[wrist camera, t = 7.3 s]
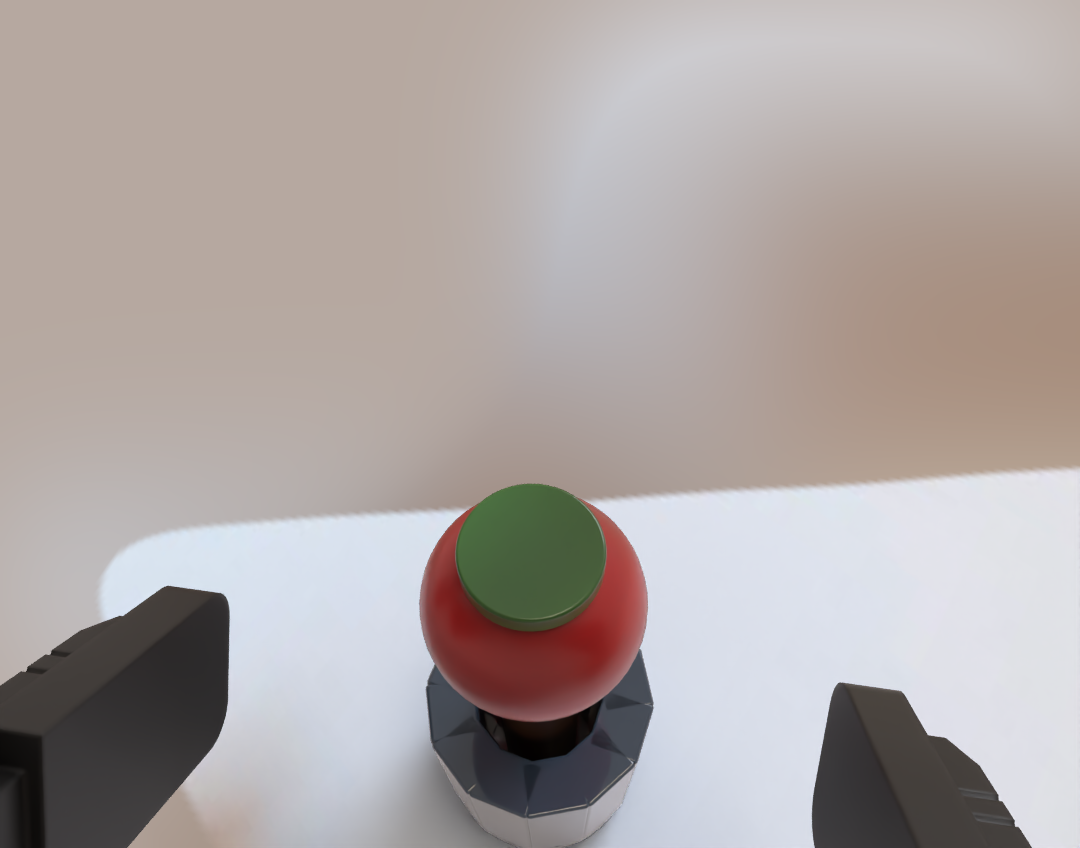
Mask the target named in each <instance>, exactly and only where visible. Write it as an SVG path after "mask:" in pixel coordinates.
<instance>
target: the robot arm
mask: <svg viewBox="0 0 1080 848" xmlns="http://www.w3.org/2000/svg"><path fill="white" fill-rule="evenodd" d="M229 617H230V616H229V605H228V601H227V599H226V597H225V596H224V595H223V594H221V593H215V592H208V591H201V590H194V589H187V588H180V587H173V586H166V587H164V588H162V589H160V590H159V591H157V592H156V593H155V594H153V595H152V596H150V597H149V598H148V599H146V600H145V601H144V602H142V603H141V604H139V605H138V606H137V607H135V608H134V609H132V610H131V611H130V612H128V613H127V614H125V615H124V616H118V617H115V618H113V619H110V620H107V621H105V622H102V623H99V624H97V625H94V626H92V627H89V628H86V629H84V630H81V631H79V632H78V633H76V634H75V635H73V636H72V637H70V638H69V639H68V640H66V641H65V642H63V643H62V644H60V645H59V646H57V647H56V648H54V649H53V650H52V651H51V654H50V655H44V656H43V657H41V658H40V659H38V660H37V661H36V662H34V663H33V664H31V665H30V666H28V667H27V671H26V672H20V673H18V674H17V675H15V676H14V677H13V678H11V679H9V680H8V681H7V682H5V683H4V684H2V685H1V686H0V848H127V847H128V846H129V845H130V844H131V843H132V841H133V840H134V839H135V838H136V837H137V836H138V834H139V833H140V832H141V831H142V830H143V828H144V827H145V826H146V825H147V824H148V823H149V821H150V820H151V819H152V818H153V817H154V816H155V814H156V813H157V812H158V811H159V810H160V808H161V807H162V806H163V805H164V804H165V803H166V802H167V800H168V799H169V798H170V797H171V796H172V795H173V793H174V792H175V791H176V790H177V789H178V788H179V786H180V785H181V784H182V783H183V782H184V780H185V779H186V778H187V777H188V776H189V775H190V773H191V772H192V771H193V770H194V769H195V768H196V766H197V765H198V764H199V763H200V762H201V761H202V759H203V758H204V757H205V756H206V755H207V754H208V752H209V751H210V750H211V749H212V747H213V746H214V744H215V742H216V741H217V739H218V737H219V734H220V732H221V729H222V726H223V723H224V720H225V716H226V711H227V704H228V669H229ZM998 796H999V795H998V794H997V792H996V791H995V789H994V788H993V786H992V785H991V783H990V781H989V780H988V778H987V777H986V775H985V774H984V772H983V770H982V769H981V767H980V766H979V765H978V764H977V763H975V762H974V761H973V760H972V759H971V758H969V757H968V756H967V755H966V754H965V753H963V752H962V751H961V750H960V749H958V748H957V747H956V746H955V745H954V744H952V743H951V742H950V741H949V740H947V739H946V738H942V737H935V736H929V735H927V733H926V731H925V730H924V728H923V726H922V724H921V723H920V721H919V719H918V718H917V716H916V714H915V712H914V711H913V709H912V707H911V705H910V704H909V702H908V700H907V698H906V697H905V695H904V694H903V693H902V692H901V691H897V690H890V689H883V688H876V687H869V686H862V685H855V684H848V683H838V684H837V685H836V687H835V689H834V691H833V694H832V697H831V702H830V707H829V712H828V718H827V723H826V729H825V734H824V740H823V745H822V750H821V756H820V761H819V767H818V772H817V778H816V783H815V788H814V795H813V805H812V831H813V840H814V845H815V848H1032V847H1031V846H1030V844H1029V842H1028V841H1027V839H1026V838H1025V836H1024V835H1023V833H1022V831H1021V830H1020V828H1019V827H1015V824H1014V822H1015V820H1014V819H1013V817H1012V816H1011V814H1010V813H1009V811H1008V810H1007V808H1006V806H1005V805H1004V803H1003V802H1002V801H999V800H998Z"/></svg>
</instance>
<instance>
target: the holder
mask: <svg viewBox="0 0 1080 848" xmlns="http://www.w3.org/2000/svg"><path fill="white" fill-rule="evenodd" d="M427 685H428V686H427V687H426V697H427V708H428V718H429V729H430V739H431V743H432V746H433V749H434V751H435V753H436V755H437V757H438V759H439V761H440V763H441V765H442V767H443V769H444V771H445V773H446V775H447V777H448V779H449V780H450V782H451V784H452V786H453V788H454V790H455V792H456V793H457V795H458V796H459V797H460V799H461V800H462V802H463V803H464V804H465V806H466V807H467V809H468V811H469V812H470V814H471V815H472V816H473V817H474V819H475V820H476V821H477V822H478V824H479V825H480V826H481V828H482V829H483V830H485V831H486V832H487V833H490V834H492V835H493V836H495V837H496V838H498V839H500V840H502V841H504V842H506V843H508V844H510V845H514V846H517V847H520V848H563V847H567V846H570V845H573V844H575V843H578V842H581V841H582V840H585V839H586V838H587V837H589V836H590V835H592V834H593V833H594V832H596V831H597V830H598V829H599V828H601V827H602V826H603V825H604V824H605V823H606V821H607V820H608V819H609V818H610V817H611V816H612V814H613V813H614V812H615V811H616V810H617V809H618V808H620V805H621V804H622V803H623V800H624V797H625V795H626V792H627V789H628V787H629V784H630V781H631V779H632V776H633V773H634V771H635V768H636V765H637V762H638V759H639V756H640V752H641V749H642V746H643V742H644V739H645V736H646V732H647V729H648V726H649V722H650V719H651V715H652V712H653V704H654V702H653V698H652V694H651V690H650V685H649V681H648V677H647V673H646V669H645V664H644V660H643V656H642V652H641V650H640V649H639V651H638V653H637V656H636V658H635V660H634V661H633V663H632V665H631V667H630V668H629V670H628V672H627V673H626V674H625V676H624V677H623V678H622V680H621V681H620V682H619V683H618V684H617V685H616V686H615V687H614V688H613V689H612V690H611V691H610V692H609V693H608V694H607V695H606V696H604V697H603V698H602V699H600V700H599V701H598V702H596V703H595V704H594V705H592V706H590V707H588V708H586V709H585V710H583V711H581V712H578V718H577V730H576V741H575V747H574V748H573V749H572V750H571V751H570V752H569V753H567V754H566V755H563V756H557V757H551V758H546V759H540V760H535V761H531V760H529V759H526V758H524V757H521V756H519V755H516V754H513V753H511V752H508V747H507V742H506V737H505V731H504V726H503V721H502V717H499V716H496V715H493V714H491V713H489V712H487V711H485V710H482V709H480V708H478V707H477V706H475V705H474V704H472V703H471V702H469V701H468V700H466V699H465V698H464V697H462V696H461V695H460V694H459V693H458V692H457V691H455V690H454V689H453V688H452V686H451V685H450V684H449V683H448V682H447V681H446V680H445V679H444V677H443V676H442V674H441V673H440V671H439V670H438V668H437V666H436V665H434V667H433V669H432V671H431V674H430V676H429V678H428V680H427Z"/></svg>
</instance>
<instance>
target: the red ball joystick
mask: <svg viewBox="0 0 1080 848" xmlns="http://www.w3.org/2000/svg"><path fill="white" fill-rule="evenodd" d="M419 606H420V620H421V626H422V632H423V636H424V640H425V643H426V646H427V649H428V651H429V653H430V655H431V657H432V659H433V662H434V663H435V665H436V666H437V668H438V670H439V671H440V673H441V674H442V676H443V677H444V679H445V680H446V681H447V682H448V683H449V684H450V685H451V686H452V688H453V689H454V690H455V691H457V692H458V693H459V694H460V695H461V696H462V697H464V698H465V699H466V700H468V701H469V702H471V703H472V704H474V705H475V706H477V707H478V708H480V709H482V710H485V711H487V712H489V713H491V714H493V715H496V716H499V717H502V721H503V726H504V731H505V737H506V742H507V747H508V752H511V753H513V754H516V755H519V756H521V757H524V758H526V759H529V760H531V761H535V760H540V759H546V758H551V757H557V756H563V755H566V754H567V753H569V752H570V751H571V750H572V749H573V748H574V747H575V741H576V730H577V718H578V712H581V711H583V710H585V709H586V708H588V707H590V706H592V705H594V704H595V703H596V702H598V701H599V700H600V699H602V698H603V697H604V696H606V695H607V694H608V693H609V692H610V691H611V690H612V689H613V688H614V687H615V686H616V685H617V684H618V683H619V682H620V681H621V680H622V678H623V677H624V676H625V674H626V673H627V672H628V670H629V668H630V667H631V665H632V663H633V661H634V660H635V658H636V656H637V653H638V651H639V648H640V646H641V643H642V641H643V637H644V633H645V629H646V622H647V612H648V598H647V588H646V582H645V577H644V574H643V571H642V568H641V565H640V562H639V559H638V557H637V555H636V553H635V551H634V548H633V547H632V545H631V544H630V542H629V541H628V539H627V538H626V536H625V535H624V533H623V532H622V531H621V530H620V529H619V528H618V526H617V525H616V524H615V523H614V522H613V521H612V520H611V519H610V518H609V517H608V516H607V515H605V514H604V513H603V512H601V511H600V510H599V509H597V508H596V507H594V506H593V505H591V504H589V503H587V502H585V501H583V500H582V499H579V498H577V497H575V496H573V495H572V494H570V493H568V492H566V491H564V490H562V489H559V488H556V487H552V486H549V485H542V484H522V485H516V486H511V487H508V488H505V489H502V490H500V491H497V492H495V493H493V494H492V495H490V496H488V497H487V498H485V499H484V500H483V501H482V502H480V503H478V504H477V505H475V506H474V507H472V508H471V509H469V510H467V511H466V512H465V513H464V514H462V515H461V516H460V517H459V518H457V519H456V520H455V521H454V522H453V524H452V525H451V526H450V527H449V528H448V529H447V530H446V531H445V533H444V534H443V536H442V537H441V538H440V540H439V541H438V543H437V545H436V546H435V548H434V550H433V552H432V553H431V555H430V558H429V560H428V563H427V565H426V568H425V571H424V575H423V579H422V584H421V591H420V600H419Z"/></svg>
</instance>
